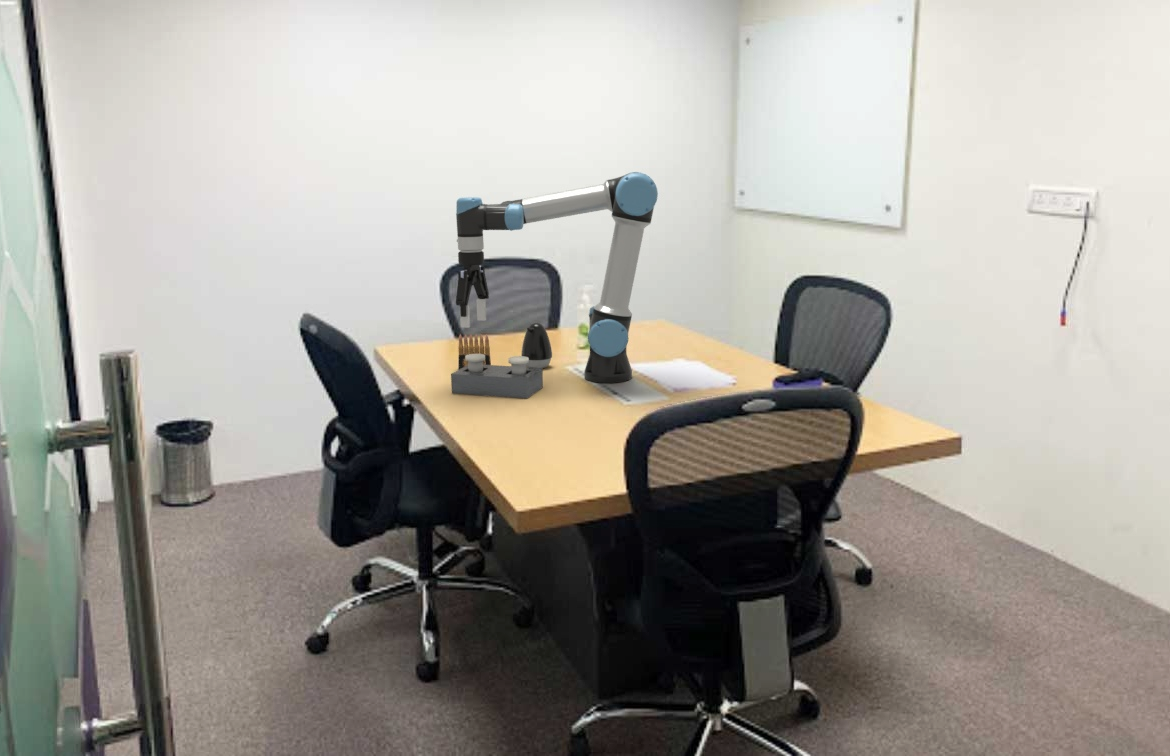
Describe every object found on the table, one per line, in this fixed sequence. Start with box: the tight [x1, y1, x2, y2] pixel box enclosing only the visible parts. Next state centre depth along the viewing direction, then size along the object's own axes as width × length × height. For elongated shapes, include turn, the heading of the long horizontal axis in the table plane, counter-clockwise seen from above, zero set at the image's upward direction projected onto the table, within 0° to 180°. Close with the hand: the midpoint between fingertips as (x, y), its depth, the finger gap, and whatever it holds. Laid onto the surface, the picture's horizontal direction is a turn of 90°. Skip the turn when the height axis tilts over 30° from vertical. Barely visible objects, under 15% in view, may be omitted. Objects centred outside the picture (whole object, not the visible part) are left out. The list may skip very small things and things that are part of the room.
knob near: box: [508, 355, 529, 375], centre depth 280 cm, size 6×6×7 cm
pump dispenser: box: [521, 322, 553, 369], centre depth 311 cm, size 10×10×15 cm
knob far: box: [465, 353, 485, 372], centre depth 284 cm, size 6×6×7 cm
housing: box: [450, 364, 544, 399], centre depth 283 cm, size 24×14×6 cm, turn 73°
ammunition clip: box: [457, 333, 492, 370], centre depth 310 cm, size 11×2×12 cm, turn 85°
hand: (473, 323), depth 281 cm, fingers open, 11 cm apart
